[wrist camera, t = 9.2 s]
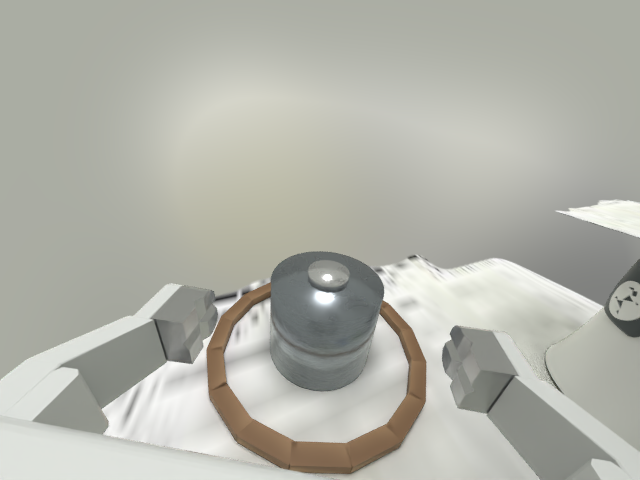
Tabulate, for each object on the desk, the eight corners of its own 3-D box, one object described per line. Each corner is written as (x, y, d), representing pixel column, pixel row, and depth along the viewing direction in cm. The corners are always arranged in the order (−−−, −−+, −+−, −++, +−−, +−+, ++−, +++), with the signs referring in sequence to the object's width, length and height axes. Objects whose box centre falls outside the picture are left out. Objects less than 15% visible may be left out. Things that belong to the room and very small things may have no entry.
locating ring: (425, 313, 36) (427, 308, 35) (418, 546, 16) (422, 541, 16) (279, 266, 42) (279, 261, 42) (150, 392, 23) (147, 385, 22)
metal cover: (374, 326, 32) (392, 259, 28) (354, 409, 23) (376, 329, 19) (295, 300, 35) (300, 236, 31) (249, 365, 26) (246, 286, 22)
